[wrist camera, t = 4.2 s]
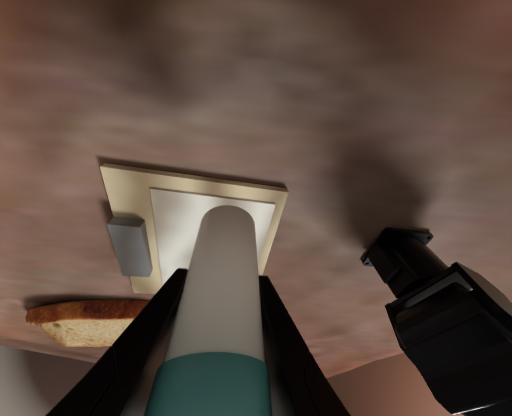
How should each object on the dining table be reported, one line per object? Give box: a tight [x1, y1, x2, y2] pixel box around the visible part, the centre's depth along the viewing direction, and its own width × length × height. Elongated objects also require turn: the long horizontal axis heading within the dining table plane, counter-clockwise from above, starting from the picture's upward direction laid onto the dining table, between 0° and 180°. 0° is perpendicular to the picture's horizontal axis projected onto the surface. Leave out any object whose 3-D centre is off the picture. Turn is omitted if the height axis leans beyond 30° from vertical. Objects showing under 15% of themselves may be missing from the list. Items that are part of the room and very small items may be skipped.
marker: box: [144, 205, 272, 416], centre depth 8 cm, size 3×3×9 cm
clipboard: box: [100, 163, 289, 294], centre depth 24 cm, size 17×19×2 cm
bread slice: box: [26, 300, 149, 347], centre depth 31 cm, size 18×18×4 cm
